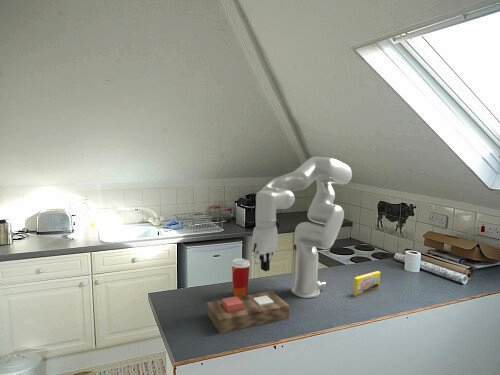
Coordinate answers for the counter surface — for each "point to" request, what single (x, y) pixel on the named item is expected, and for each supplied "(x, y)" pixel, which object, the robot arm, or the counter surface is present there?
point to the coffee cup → (240, 276)
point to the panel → (247, 313)
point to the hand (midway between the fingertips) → (265, 269)
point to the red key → (232, 304)
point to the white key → (263, 301)
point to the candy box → (366, 283)
